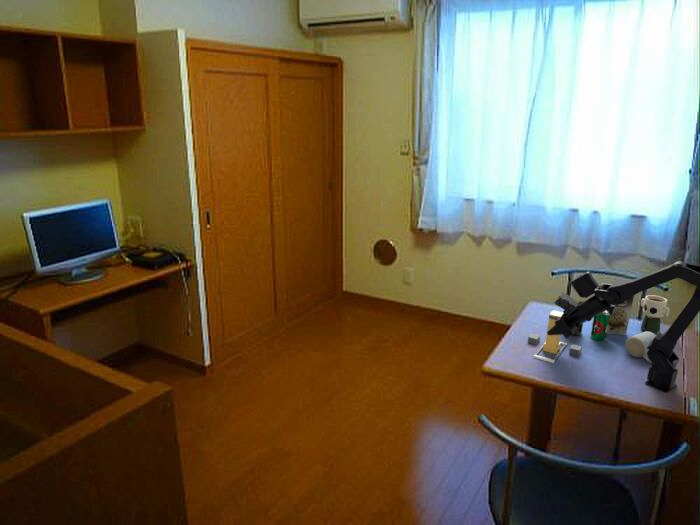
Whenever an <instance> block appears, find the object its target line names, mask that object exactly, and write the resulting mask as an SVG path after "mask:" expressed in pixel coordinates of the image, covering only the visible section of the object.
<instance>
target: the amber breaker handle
mask: <svg viewBox="0 0 700 525" xmlns="http://www.w3.org/2000/svg"><path fill="white" fill-rule="evenodd" d="M562 316H564V313H563V311H557V310H554V309H553V310H552V311H551V312H550V313H549V315H548V322H547V323H548V324H547V329H546V337H545V341H546V342H545V341H544V343H543V344H544V346H543V349H542V351H543V352H547V353H550V354H554V355H557V354H558V352H559V351H560V350H561V342H562V341H561V335H548V334H547V332H548V331H549V330H550V329H551V328H552V327H554V326H555V321H556V320H557V319H558V317H559V318H560V317H562Z"/></svg>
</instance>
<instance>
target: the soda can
mask: <svg viewBox="0 0 700 525" xmlns="http://www.w3.org/2000/svg"><path fill="white" fill-rule="evenodd" d="M609 320H610V314H609V313H608V311H607V310H606V311H604V312H602V313H601V314H599V315H597V316H595V317H593V318H592V325H591V332H590V338H591V339H592V340H595V341H597V342H604V341H607V335H608V334H607V331H608V325H609Z"/></svg>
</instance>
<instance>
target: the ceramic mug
mask: <svg viewBox="0 0 700 525" xmlns="http://www.w3.org/2000/svg"><path fill="white" fill-rule="evenodd" d="M655 336H656V333H652V332H648V331H646V330H645V331H643V332H640V333H638V334H635V335H632V336H630V337H629V338H628V339H627V340H626V342H625V348H626V351H627V352H628V354H629V355H630V356H632V357H634V358H644V359H645V360H646V361H647V362H648V363H650V364H652V362H651V361H650V360H649V358H648V356H647V352H648V350H649V349H647V347H648V345H649V344H650V342H651V341H652V340H653V339H654V338H655Z"/></svg>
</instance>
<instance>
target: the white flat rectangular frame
mask: <svg viewBox="0 0 700 525" xmlns="http://www.w3.org/2000/svg"><path fill="white" fill-rule="evenodd" d="M540 340H541V335H539V334H536V333H530V335H529V336H528V338H527V343H529V344H533V345H538V343H540ZM545 342H546V340H545V341H544V343H545ZM560 342H561V345H562V347H560V350H559V351H558V353H557V354H555V356H554V358H553V359H551V358H549V357H545V356H541V355H539V353H541V351H543V346H544V343H543V344H542V345H541V347H539V348H538V350H536V352H535V354H533V358H534V359H537V360H541V361H545V362H549V363H551V364H554V363H555V362H557V360H558V358H559V356H561V354H562V353H563V351H564V350H565V348H566V347H567V345H568V343H567V342H565V341H560ZM582 349H583V346H581V345H577V344H571V346H570V347H569V353H568V354H569V355H572V356H577V357H579V356H580V354H581V353H582Z"/></svg>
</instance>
